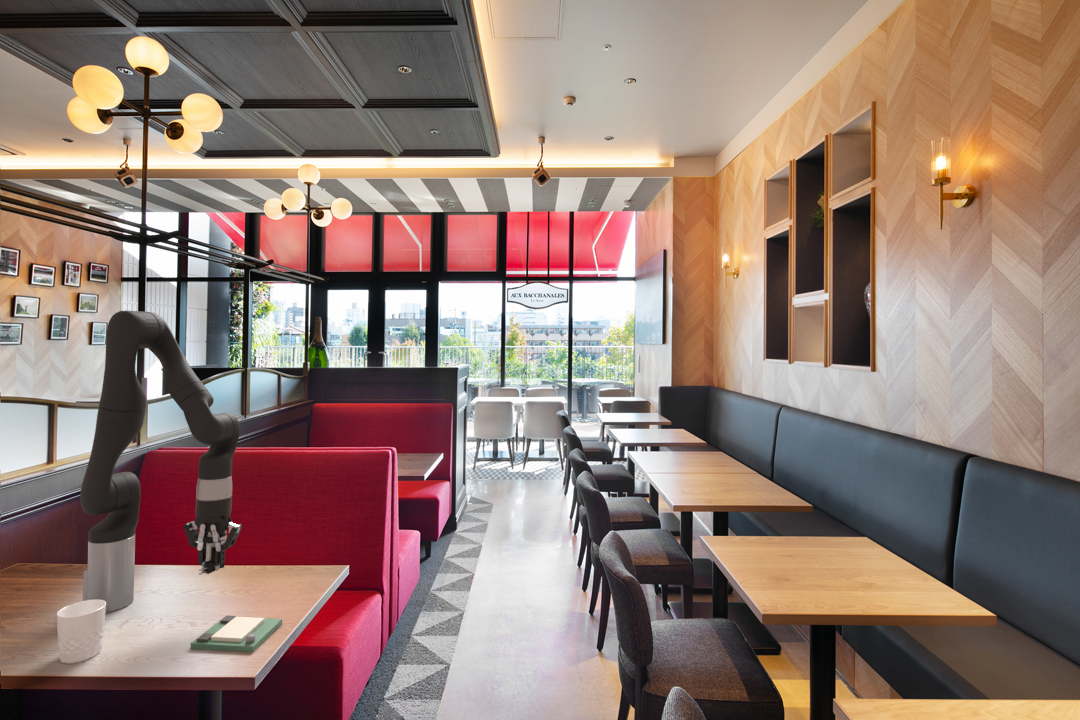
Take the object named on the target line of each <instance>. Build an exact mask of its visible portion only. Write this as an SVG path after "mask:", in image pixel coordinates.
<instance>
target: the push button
mask: <svg viewBox="0 0 1080 720" xmlns="http://www.w3.org/2000/svg"><path fill="white" fill-rule="evenodd" d="M227 533H228V531H226V534H223V535H220V536H219V538H221V537H224V536H226V535H227V536H228V534H227ZM203 539H204V541H203V542H204V543H206V545H207V546H206V559H205V562H203V563H202V565H201V568H199V569H198V572H199V571H200V573H198V575H203V574H206V575H209V574H212V573H214V572H215V571H216V572H217V571H220V569H223V568H225V565H226V564H225V562H226V561H224V562H223V563H222V564H221V565H219V566H215V551H216V546H215V543H214V542H213V535H211V532H208V536H207V537H206V536H205V537H203ZM222 541H223V540H222Z"/></svg>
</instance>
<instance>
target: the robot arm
mask: <svg viewBox="0 0 1080 720" xmlns="http://www.w3.org/2000/svg"><path fill="white" fill-rule="evenodd" d="M105 336H106V337H105V356H104V357H105V358H104V359H105V361H104V371H103V380H102V387H101V393H100V397H99V398H100V399H99V403H98V408H97V415H96V423H95V430H94V435H93V436H94V437H93V442H92V447H91V452H90V455H89V460H88V464H87V466H86V470H85V474H84V476H83V479H82V483H81V487H80V494H79V498H80V499H79V501H80V506H81V509H82V510H83V512H84V513H85V514H87V515H89V516H97V515H102V514H107V513H108V515H107V516H105V518H103V519H102V520H100V521H99V522H98V523H97V524H95V525H94V526H92V527H91V528H90V529H89V531H88V536H87V537H88V539H87V569H85V570H84V571H83V576H82V577H83V578H82V579H83V580H82V601H86V600H104V601H105V602H106V611H105V613H109V612H113V611H117V610H121V609H123V608H125V607H127V606H128V605H130V604H132V603H133V601H134V595H135V592H134V591H135V590H134V589H135V564H136V563H135V557H136V555H135V553H136V528H137V525H138V523H139V517H140V516H139V515H140V506H141V495H142V492H141V491H142V490H141V482H140V480H139V477H138V476H137V475H136V474H135V473H133V472H131V471H121V472H116V473H114V470H115V468H116V467H115V466H116V464H117V462H118V460H119V458H120V457H121V455H122V454H123V453H124V452H125V450H126V449H127V448H128V447H129V446H130V444H131V443H132V442H133V441H134V439H135V438H136V437H137V436H138V434H139V433H140V432H141V429H142V428H143V425H144V422H145V421H144V420H145V415H146V409H147V404H148V403H147V396H146V393H145V391H144V389H143V387H142V385H141V382H140V380H139V378H138V376H137V372H136V361H137V357H138V356H137V355H138V351H139V349H148V350H149V351H151V352H152V353H153V355H155V357H156V358H157V359H158V361H159V362H160V364H161V366H162V371H163V382H164V386H165V388H166V390H167V392H168V394H169V395H170V396H171V398H172V399H173V400H174V402H175V403H176V404H177V406H178V407H179V408H180V410H181V411H182V412H183V415H184V418H185V421H186V423H187V427H188V429H189V432H190V434H191V435H192V436H193V437H194V439H195V440H197V441H198V442H199V443H201V444H203V445H206V446H208V445H209V449H208V450H207V451H206V452H203V454H202V455H200V457H199V460H198V471H197V472H198V473H197V475H198V476H197V477H198V478H197V483H196V492H195V493H196V494H195V495H196V497H195V516H196V517H195V519H194V521H193V520H192V521H190V522H187V523H185V524H183V526H182V527H183V530H184V533H185V535H186V538H187V541H188V543H189V547H191V548H195V549H197V552H198V553H197V554H198V555H197V561H198V564H199V565H200V566H202V563H203V562H205V559H206V546H207V545H206V543H204V542H203V541H204V539H203V537H205V536H206V537H207V536H208V532H211V535H213V542H214V543H215V546H216V551H215V566H219V565H221V564H222V563H223V562H224V561H225V560H226V550H228V549H230V548H231V547H234V544H235V543H236V541H237V540H238V536H239V535H240V533H241V530H242V529H243V525H242V524H241V523H239V524H236V523H233V521H232V518H231V513H232V505H233V504H232V503H233V502H232V501H233V480H232V478H233V477H232V475H233V474H232V473H233V457H234V455H235V453H236V449H237V446H238V442H239V438H240V434H241V425H240V422H239V419H238V418H237V416H235V414H232V413H230V412H222V413H215V414H214V413H213V412H212V410H211V409H210V408H211V407H212V406H213V404H214V400H215V399H214V397H213V395H212V394H211V392H210V391H209V390H208V388H207V387H206V386H205V385H204V384H203V382H202V381H201V379H200V378H199V377H198V376H197V374H196V373H195V371H194V370H193V369H192V366H190V364H189V362H188V360H187V358H186V357H185V355H184V353H183V351H182V349H181V347H180V345H179V344H178V341H177V339H176V337H175V335H174V334H173V332H172V330H171V328H170V327H169V325H168V323H167V322H166V320H165V318H163V317H162V316H161V315H159V314H158V313H156V312H152V311H138V310H120V311H117V312H115V313H114V314H113V315H112V316H111V317H110V318H109V321H108V324H107V327H106V334H105ZM227 530H228V531H227ZM226 532H227V533H228V534H227V535H226V536H224V537H221V538H219V536H220V535H223V534H226ZM222 540H223V541H222ZM225 562H226V561H225Z"/></svg>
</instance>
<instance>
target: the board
mask: <svg viewBox="0 0 1080 720" xmlns="http://www.w3.org/2000/svg"><path fill="white" fill-rule="evenodd" d="M282 624H283V618H274V617H273V618H271V617H270V618H269V617H251V616H249V617H248V616H237V615H226V616H225V615H224V617H222V618H221V619H219V620H218V622H216V623H214V624H213V625H212V626H211V627H209V629H207V630H206V631H204V632H203V633H202V634H201V635H200V636H198V637H197V638H196V639H194V640H193V641H191V642H190V650H202V651H203V650H206V651H225V652H244V653H247V652H248V653H249V652H250V653H253V652H255V651H256V650H257V649H258V648H259V647H260V646H261V645H262V644H263V643H264V642H265V641H267V639H268V638H269V637H270V636H272V634H273V633H275V631H276V630H278V628H279V627H281V626H282Z"/></svg>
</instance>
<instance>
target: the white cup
mask: <svg viewBox="0 0 1080 720" xmlns="http://www.w3.org/2000/svg"><path fill="white" fill-rule="evenodd" d="M105 611H106V602H105V601H104V600H86V601H83V600H82V601H78V602H77V601H76V602H75V603H70V604H69V605H66V606H64V607H62V608H61V609H59V610H58V611H57V612H56V626H57V627H56V629H57V630H56V631H57V647H58V659H59V660H58V661H60V662H61V663H62V664H75V663H76V664H77V663H81V662H84V661H87V660H90V659H91V658H94V657H95V656H97V655H98V654H99V653H100V652H101V650H102V647H103V638H104V633H105V632H104V631H105V623H106V612H105Z"/></svg>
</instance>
